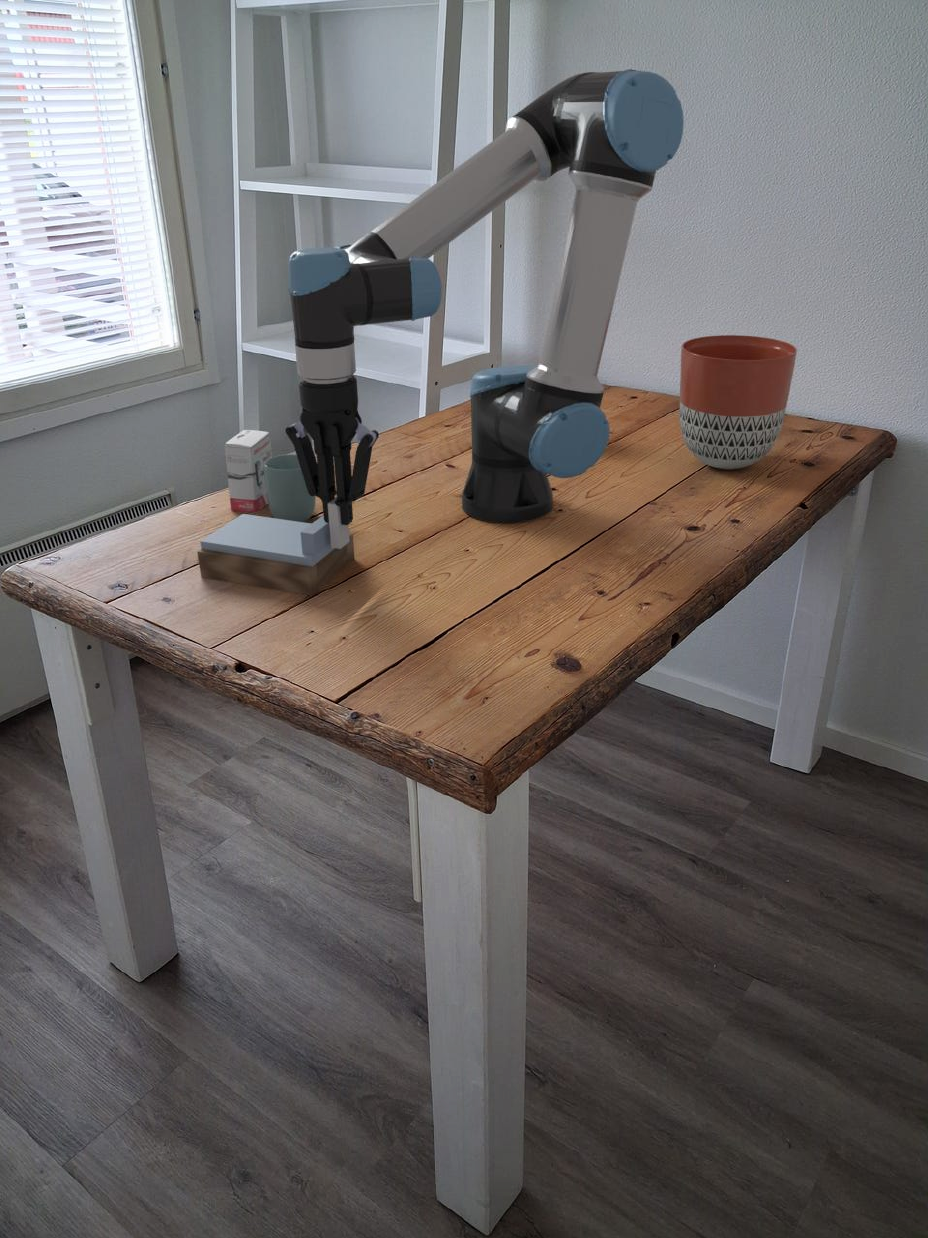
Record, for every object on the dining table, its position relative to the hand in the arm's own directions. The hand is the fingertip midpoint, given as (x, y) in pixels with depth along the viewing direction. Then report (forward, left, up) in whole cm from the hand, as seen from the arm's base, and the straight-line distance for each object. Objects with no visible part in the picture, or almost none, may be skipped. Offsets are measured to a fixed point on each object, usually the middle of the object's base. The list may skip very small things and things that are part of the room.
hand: (340, 544), depth 140 cm
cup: (+19, -18, -6) cm, 27 cm away
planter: (-43, -68, -6) cm, 81 cm away
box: (+11, 0, -6) cm, 12 cm away
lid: (+11, 0, -1) cm, 11 cm away
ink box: (+29, -22, -6) cm, 37 cm away
